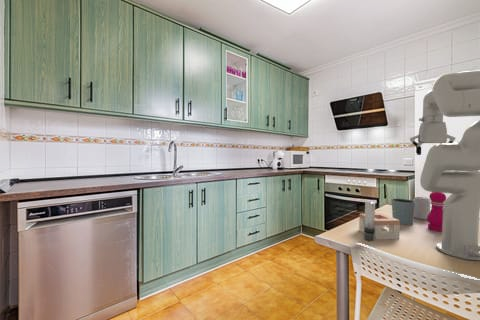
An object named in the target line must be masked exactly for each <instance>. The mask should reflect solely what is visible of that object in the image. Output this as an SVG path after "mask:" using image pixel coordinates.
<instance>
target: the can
mask: <svg viewBox="0 0 480 320" xmlns="http://www.w3.org/2000/svg"><path fill="white" fill-rule="evenodd" d="M412 201H415V207H414V214H413V215H414V217H413V219H417V220H421V221H427V216H428V214H429V213H430V211H431V204H430V203H431V200H430V197H427V196H426V197H425V196H414V198H413V199H412Z"/></svg>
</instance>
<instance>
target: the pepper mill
mask: <svg viewBox="0 0 480 320" xmlns="http://www.w3.org/2000/svg"><path fill="white" fill-rule="evenodd" d="M428 198H429V200H430V205H431V207H430V213H429V214H428V216H427V220H426V222H427V223H428V224H427V229H428V230H430V231H434V232H440V233H442V221H443V204H444V202H445V200H446V199H447V195H446V193H439V192H430V194H429V196H428Z"/></svg>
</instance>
